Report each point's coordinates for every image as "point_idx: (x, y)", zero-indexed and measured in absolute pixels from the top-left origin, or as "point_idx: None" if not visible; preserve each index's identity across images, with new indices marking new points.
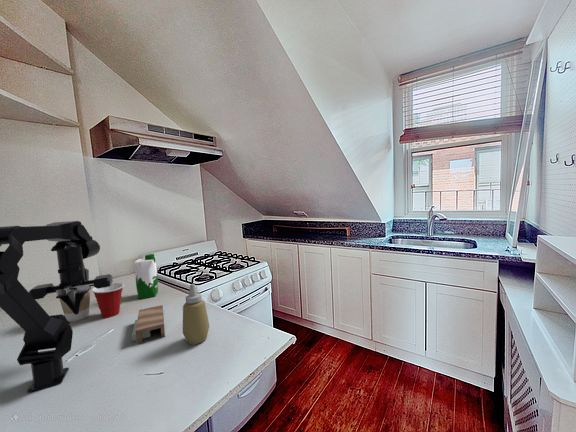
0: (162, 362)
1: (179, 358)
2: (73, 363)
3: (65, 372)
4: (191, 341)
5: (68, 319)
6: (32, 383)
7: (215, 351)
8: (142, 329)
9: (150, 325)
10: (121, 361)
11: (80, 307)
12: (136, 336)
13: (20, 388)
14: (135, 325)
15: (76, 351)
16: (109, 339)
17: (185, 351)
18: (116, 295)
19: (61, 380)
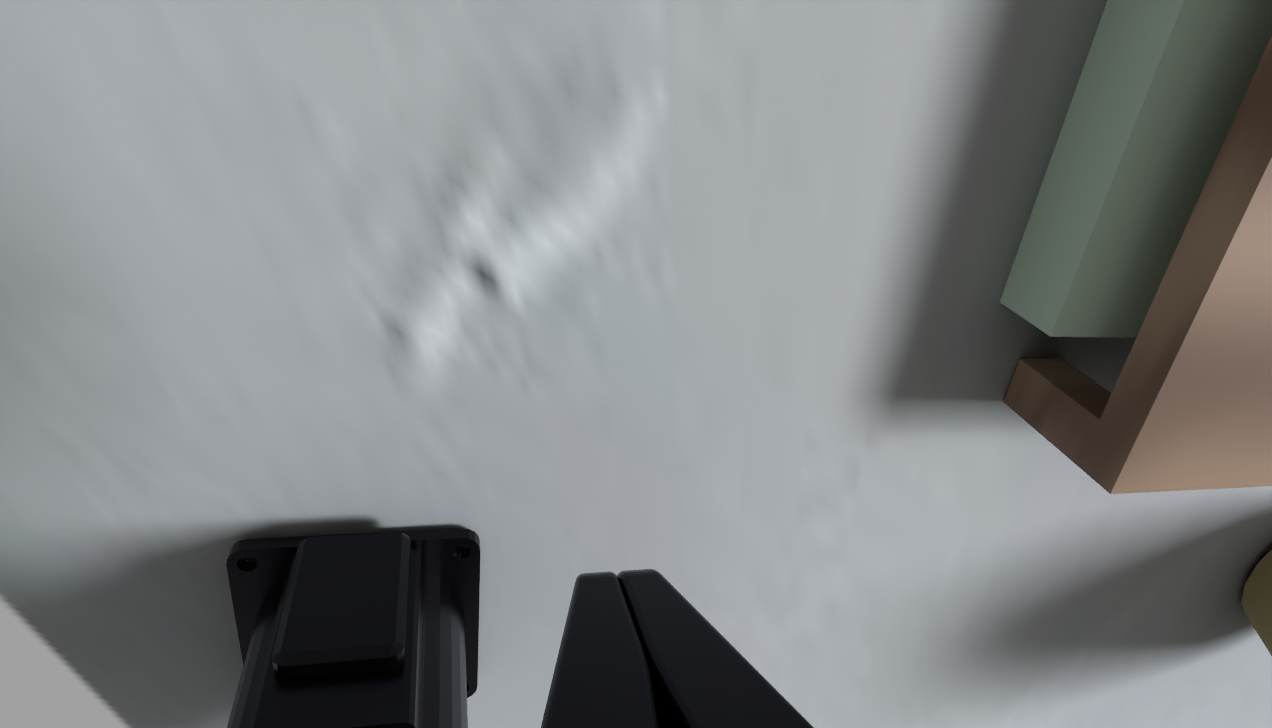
0: (1032, 705)
1: (1112, 705)
2: (489, 440)
3: (471, 602)
4: (1264, 643)
5: None
6: (242, 641)
7: (1261, 717)
8: (1162, 485)
9: (1254, 456)
10: (845, 595)
11: (745, 677)
12: (1061, 449)
13: (150, 619)
14: (1174, 61)
15: (453, 162)
16: (813, 64)
17: (1173, 656)
18: None
19: (474, 690)
